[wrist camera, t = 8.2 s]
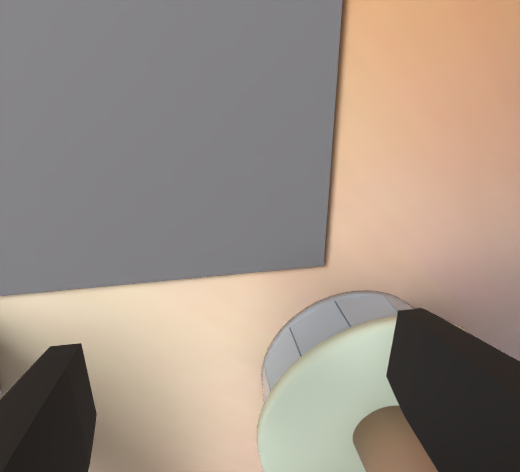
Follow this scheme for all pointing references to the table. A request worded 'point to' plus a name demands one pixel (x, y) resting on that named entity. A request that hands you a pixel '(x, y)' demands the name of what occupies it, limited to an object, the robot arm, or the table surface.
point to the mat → (163, 139)
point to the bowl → (323, 327)
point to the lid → (340, 410)
